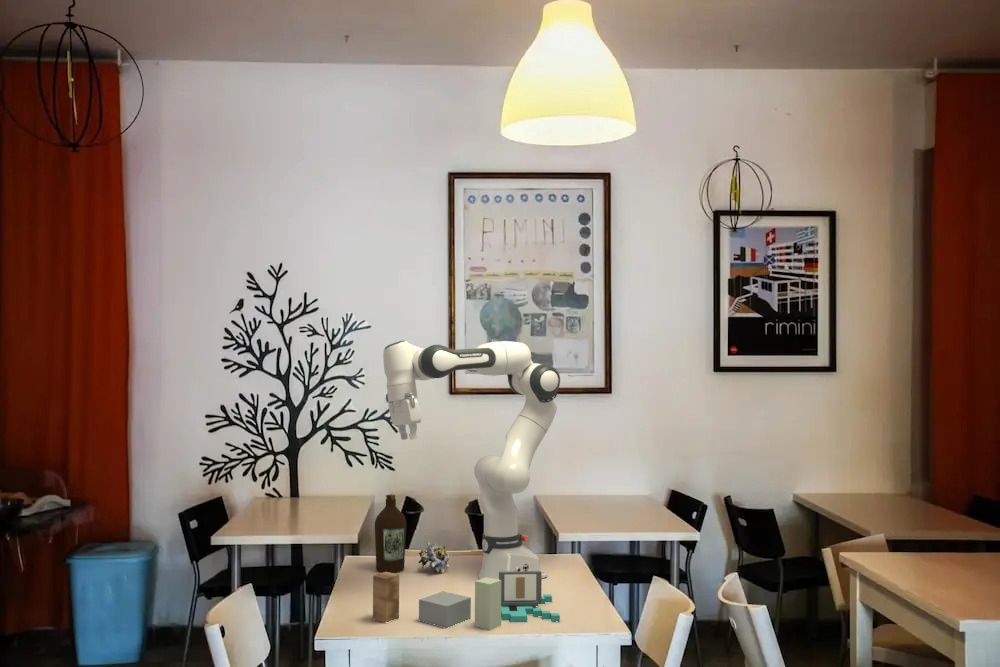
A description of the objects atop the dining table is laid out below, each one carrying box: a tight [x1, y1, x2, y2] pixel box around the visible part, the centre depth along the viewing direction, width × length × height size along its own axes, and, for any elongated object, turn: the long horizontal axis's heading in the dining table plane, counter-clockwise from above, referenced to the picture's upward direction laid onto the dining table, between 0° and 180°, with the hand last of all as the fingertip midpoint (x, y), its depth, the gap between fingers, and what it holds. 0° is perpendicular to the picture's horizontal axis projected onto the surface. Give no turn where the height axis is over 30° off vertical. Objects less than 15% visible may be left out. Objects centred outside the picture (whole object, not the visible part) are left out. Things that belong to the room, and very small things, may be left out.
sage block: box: [474, 577, 502, 631], centre depth 222 cm, size 5×5×12 cm
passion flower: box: [418, 541, 450, 574], centre depth 278 cm, size 11×11×12 cm
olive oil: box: [374, 493, 407, 574], centre depth 279 cm, size 11×11×25 cm
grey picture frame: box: [499, 571, 543, 606], centre depth 236 cm, size 12×5×9 cm, turn 94°
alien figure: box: [501, 593, 561, 623], centre depth 235 cm, size 20×2×20 cm
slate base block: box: [418, 591, 472, 629], centre depth 227 cm, size 10×10×6 cm
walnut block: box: [372, 572, 400, 623], centre depth 227 cm, size 5×5×12 cm
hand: (408, 439), depth 253 cm, fingers open, 8 cm apart
